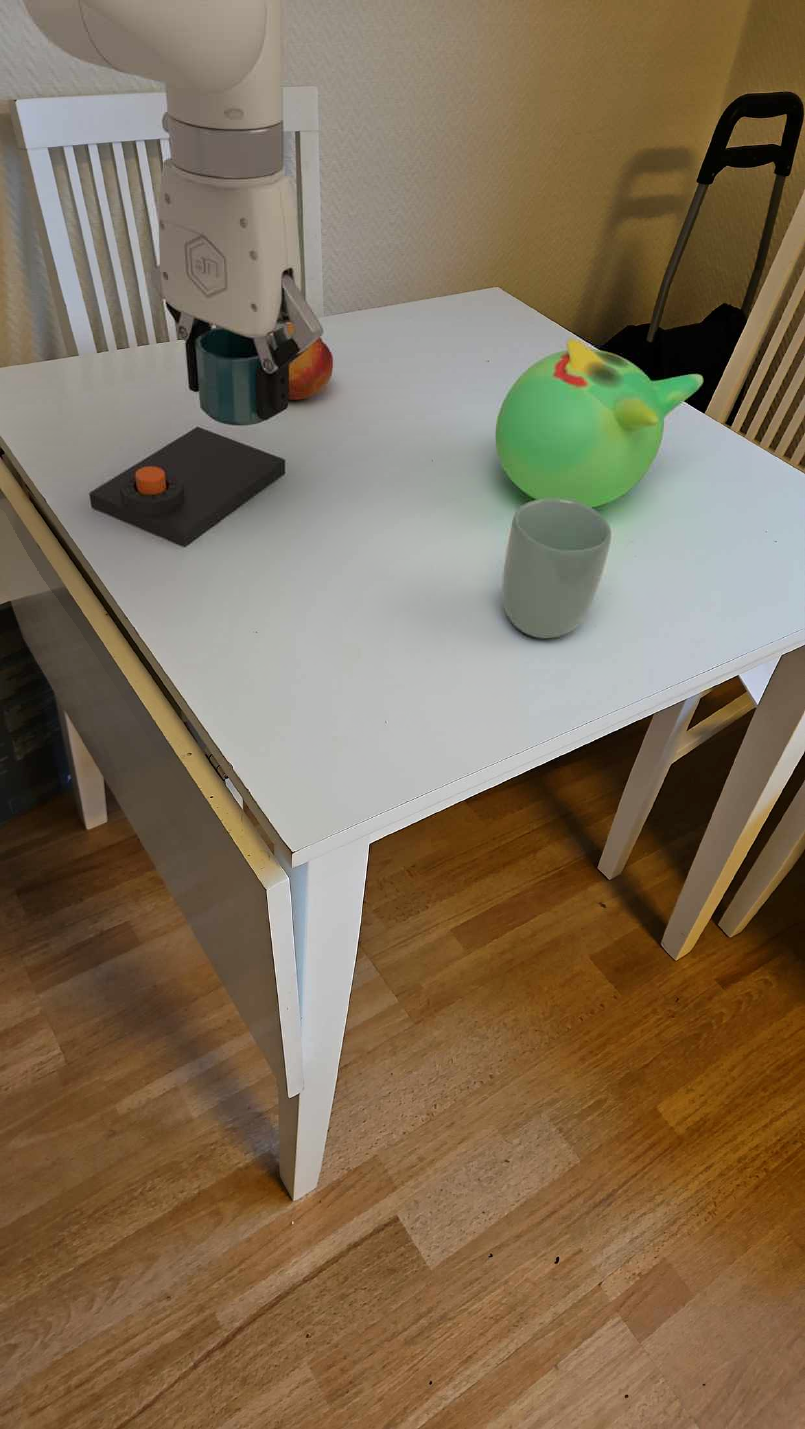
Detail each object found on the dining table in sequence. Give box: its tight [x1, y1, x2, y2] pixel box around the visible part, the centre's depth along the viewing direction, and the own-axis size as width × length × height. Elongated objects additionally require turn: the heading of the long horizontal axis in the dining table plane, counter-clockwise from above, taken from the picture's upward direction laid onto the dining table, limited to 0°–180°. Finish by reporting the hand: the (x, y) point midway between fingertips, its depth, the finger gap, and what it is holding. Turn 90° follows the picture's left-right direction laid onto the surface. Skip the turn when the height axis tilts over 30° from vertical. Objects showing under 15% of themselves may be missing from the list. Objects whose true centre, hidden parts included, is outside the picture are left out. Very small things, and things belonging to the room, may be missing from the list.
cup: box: [501, 498, 612, 639], centre depth 79 cm, size 8×8×10 cm
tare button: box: [135, 467, 166, 495], centre depth 87 cm, size 3×3×2 cm
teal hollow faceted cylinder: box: [195, 326, 277, 427], centre depth 75 cm, size 6×6×6 cm
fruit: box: [271, 322, 334, 401], centre depth 106 cm, size 8×8×8 cm
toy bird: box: [495, 338, 704, 508], centre depth 93 cm, size 18×17×15 cm
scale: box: [88, 426, 286, 548], centre depth 92 cm, size 16×11×3 cm
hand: (238, 397), depth 76 cm, fingers closed on teal hollow faceted cylinder, 6 cm apart
